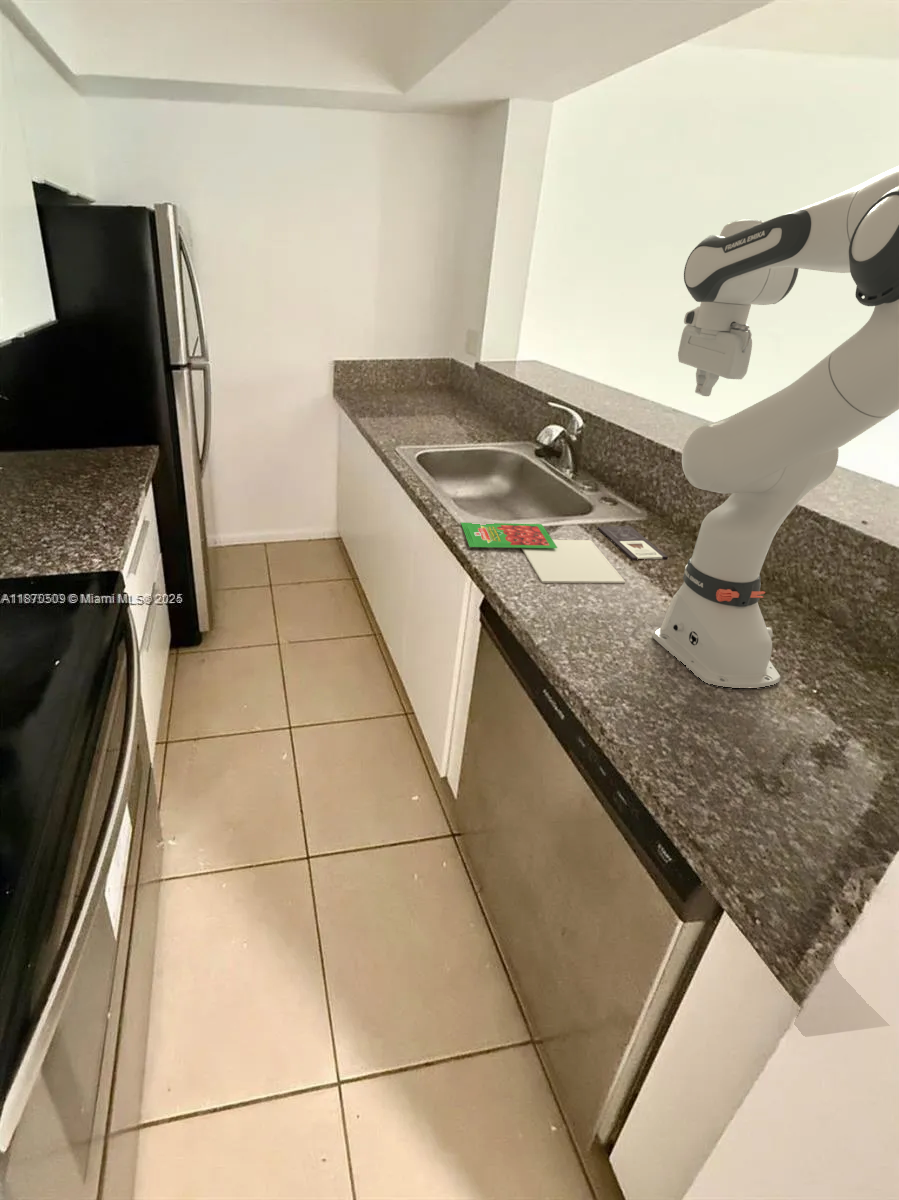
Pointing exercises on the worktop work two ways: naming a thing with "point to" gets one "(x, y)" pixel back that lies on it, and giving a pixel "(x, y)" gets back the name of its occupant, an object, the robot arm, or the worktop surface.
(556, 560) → the rubber mat
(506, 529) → the tomato puree packet
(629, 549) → the chocolate bar
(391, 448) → the worktop surface
